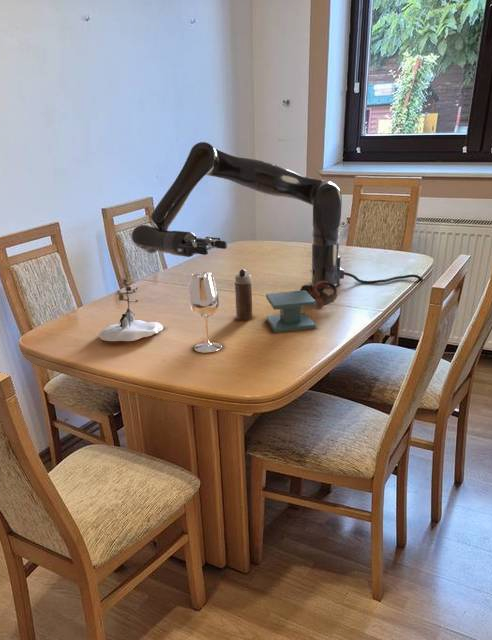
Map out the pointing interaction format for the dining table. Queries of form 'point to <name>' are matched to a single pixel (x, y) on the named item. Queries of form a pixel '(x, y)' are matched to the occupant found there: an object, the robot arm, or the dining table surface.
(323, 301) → the brown clay hollow piece
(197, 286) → the wineglass
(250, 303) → the pepper mill
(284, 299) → the stand
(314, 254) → the robot arm
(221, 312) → the dining table surface
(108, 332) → the figurine
